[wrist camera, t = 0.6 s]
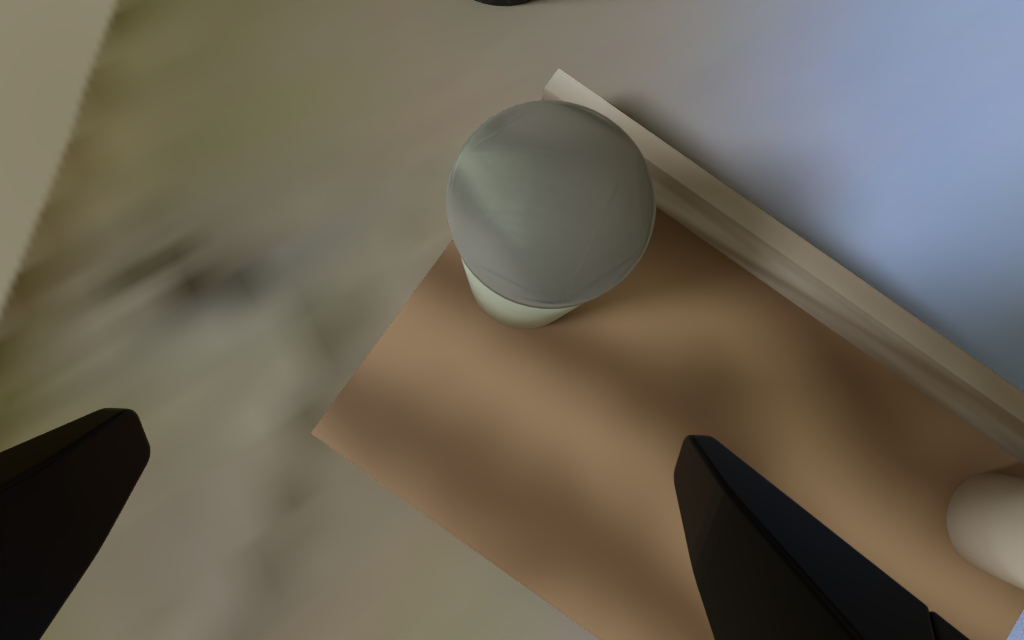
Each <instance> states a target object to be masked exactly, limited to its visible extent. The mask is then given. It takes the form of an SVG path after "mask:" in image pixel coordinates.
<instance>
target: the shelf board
mask: <svg viewBox="0 0 1024 640" xmlns="http://www.w3.org/2000/svg"><path fill="white" fill-rule="evenodd" d="M542 100H558V101H565V102H571V103H575V104H579V105H582V106H585V107H588V108H590V109H593V110H595V111H597V112H599V113H601V114H602V115H604V116H606V117H608V118H609V119H610V120H612V121H613V122H614V123H616V124H617V125H619V126H620V127H621V128H622V129H623V130H624V131H625V132H626V133H627V134H628V135H629V136H630V137H631V139H632V140H633V141H634V142H635V144H636V145H637V146H638V148H639V150H640V151H641V153H642V154H643V156H644V158H645V160H646V162H647V165H648V167H649V169H650V172H651V175H652V179H653V182H654V188H655V194H656V215H655V223H654V228H653V232H652V236H651V238H650V241H649V244H648V246H647V248H646V250H645V252H644V254H643V256H642V258H641V259H640V261H639V262H638V263H637V265H636V266H635V268H634V269H633V270H632V271H631V272H630V273H629V274H628V275H627V276H626V277H625V278H624V280H622V281H621V282H620V283H619V284H617V285H616V286H615V287H614V288H612V289H611V290H609V291H607V292H605V293H604V294H602V295H600V296H599V297H597V298H595V299H593V300H591V301H588V302H586V303H583V304H582V305H580V306H578V307H577V308H575V309H573V310H572V311H570V312H568V313H567V314H565V315H563V316H562V317H560V318H558V319H557V320H555V321H553V322H552V323H550V324H547V325H545V326H542V327H539V328H534V329H516V328H511V327H508V326H505V325H503V324H500V323H498V322H497V321H495V320H493V319H492V318H491V317H489V316H488V315H487V314H486V313H485V312H484V311H483V310H482V309H481V307H480V306H479V305H478V303H477V302H476V300H475V298H474V296H473V293H472V291H471V288H470V285H469V281H468V278H467V275H466V272H465V269H464V266H463V262H462V259H461V256H460V254H459V253H458V250H457V248H456V245H455V243H454V241H453V240H452V241H451V242H450V244H449V245H448V247H447V248H446V249H445V251H444V252H443V253H442V255H441V256H440V257H439V259H438V260H437V262H436V263H435V264H434V266H433V267H432V268H431V270H430V271H429V272H428V274H427V275H426V277H425V278H424V279H423V281H422V282H421V283H420V285H419V286H418V287H417V289H416V290H415V292H414V293H413V294H412V296H411V297H410V298H409V300H408V301H407V302H406V304H405V305H404V307H403V308H402V309H401V311H400V312H399V313H398V315H397V316H396V317H395V319H394V320H393V322H392V323H391V324H390V326H389V327H388V328H387V330H386V331H385V332H384V334H383V335H382V337H381V338H380V339H379V341H378V342H377V343H376V345H375V346H374V347H373V349H372V350H371V352H370V353H369V354H368V356H367V357H366V358H365V360H364V361H363V362H362V364H361V365H360V367H359V368H358V369H357V371H356V372H355V373H354V375H353V376H352V377H351V379H350V380H349V382H348V383H347V384H346V386H345V387H344V388H343V390H342V391H341V392H340V394H339V395H338V397H337V398H336V399H335V401H334V402H333V403H332V405H331V406H330V407H329V409H328V410H327V412H326V413H325V414H324V416H323V417H322V418H321V420H320V421H319V422H318V424H317V425H316V427H315V428H314V429H313V431H312V432H311V434H313V435H314V436H315V437H317V438H318V439H320V440H321V441H322V442H324V443H325V444H327V445H328V446H329V447H331V448H332V449H334V450H335V451H336V452H338V453H339V454H341V455H342V456H343V457H345V458H346V459H348V460H349V461H350V462H352V463H353V464H355V465H356V466H357V467H359V468H360V469H362V470H363V471H364V472H366V473H367V474H369V475H370V476H371V477H373V478H374V479H376V480H377V481H378V482H380V483H381V484H383V485H384V486H385V487H387V488H388V489H390V490H391V491H392V492H394V493H395V494H397V495H398V496H399V497H401V498H402V499H404V500H405V501H406V502H408V503H409V504H411V505H412V506H413V507H415V508H416V509H418V510H419V511H420V512H422V513H423V514H425V515H426V516H427V517H429V518H430V519H432V520H433V521H434V522H436V523H437V524H439V525H440V526H441V527H443V528H444V529H446V530H447V531H448V532H450V533H451V534H453V535H454V536H455V537H457V538H458V539H460V540H461V541H462V542H464V543H465V544H467V545H468V546H469V547H471V548H472V549H474V550H475V551H476V552H478V553H479V554H481V555H482V556H483V557H485V558H486V559H488V560H489V561H490V562H492V563H493V564H495V565H496V566H497V567H499V568H500V569H502V570H503V571H504V572H506V573H507V574H509V575H510V576H511V577H513V578H514V579H516V580H517V581H518V582H520V583H521V584H523V585H524V586H525V587H527V588H528V589H530V590H531V591H532V592H534V593H535V594H537V595H538V596H539V597H541V598H542V599H544V600H545V601H546V602H548V603H549V604H551V605H552V606H553V607H555V608H556V609H558V610H559V611H560V612H562V613H563V614H565V615H566V616H567V617H569V618H570V619H572V620H573V621H574V622H576V623H577V624H579V625H580V626H581V627H583V628H584V629H585V630H587V631H588V632H590V633H591V634H592V635H594V636H595V637H597V638H598V639H599V640H715V639H714V636H713V633H712V630H711V627H710V624H709V621H708V618H707V615H706V612H705V609H704V606H703V603H702V600H701V596H700V593H699V590H698V587H697V584H696V580H695V577H694V574H693V570H692V566H691V561H690V557H689V552H688V548H687V543H686V538H685V533H684V529H683V524H682V519H681V514H680V510H679V505H678V500H677V496H676V491H675V486H674V469H675V466H676V462H677V459H678V456H679V452H680V449H681V446H682V442H683V440H684V438H685V437H686V436H687V435H709V436H712V437H714V438H715V439H717V440H718V441H719V442H720V443H722V444H723V445H724V446H725V447H727V448H728V449H729V450H730V451H732V452H733V453H734V454H736V455H737V456H738V457H739V458H741V459H742V460H743V461H744V462H746V463H747V464H748V465H749V466H751V467H752V468H753V469H755V470H756V471H757V472H758V473H760V474H761V475H762V476H763V477H765V478H766V479H767V480H768V481H770V482H771V483H772V484H774V485H775V486H776V487H777V488H779V489H780V490H781V491H782V492H784V493H785V494H786V495H787V496H789V497H790V498H791V499H793V500H794V501H795V502H796V503H798V504H799V505H800V506H801V507H803V508H804V509H805V510H806V511H808V512H809V513H810V514H811V515H813V516H814V517H815V518H817V519H818V520H819V521H820V522H822V523H823V524H824V525H825V526H827V527H828V528H829V529H830V530H832V531H833V532H834V533H836V534H837V535H838V536H839V537H841V538H842V539H843V540H844V541H846V542H847V543H848V544H849V545H851V546H852V547H853V548H855V549H856V550H857V551H858V552H860V553H861V554H862V555H863V556H865V557H866V558H867V559H868V560H870V561H871V562H872V563H874V564H875V565H876V566H877V567H879V568H880V569H881V570H882V571H884V572H885V573H886V574H887V575H889V576H890V577H891V578H893V579H894V580H895V581H896V582H898V583H899V584H900V585H901V586H903V587H904V588H905V589H906V590H908V591H909V592H910V593H912V594H913V595H914V596H915V597H917V598H918V599H919V600H920V601H922V602H923V603H924V604H925V605H927V607H928V609H929V611H934V612H936V613H937V614H938V615H940V616H941V617H942V618H943V619H945V620H946V621H947V622H948V623H950V624H951V625H952V626H954V627H955V628H956V629H957V630H959V631H960V632H961V633H962V634H964V635H965V636H966V637H968V638H969V639H970V640H1006V639H1007V638H1008V636H1009V634H1010V632H1011V631H1012V629H1013V627H1014V625H1015V623H1016V622H1017V620H1018V618H1019V616H1020V615H1021V613H1022V611H1023V609H1024V590H1023V589H1021V588H1019V587H1016V586H1014V585H1012V584H1009V583H1007V582H1005V581H1003V580H1000V579H998V578H996V577H993V576H991V575H989V574H987V573H984V572H982V571H980V570H978V569H975V568H974V567H972V566H970V565H969V564H968V563H967V562H965V561H964V560H963V559H962V558H961V557H960V556H959V554H958V553H957V552H956V550H955V548H954V547H953V545H952V543H951V540H950V538H949V534H948V530H947V520H946V518H947V510H948V505H949V503H950V500H951V498H952V496H953V494H954V492H955V491H956V490H957V488H958V487H959V486H960V485H961V484H962V483H963V482H965V481H966V480H967V479H969V478H971V477H973V476H975V475H978V474H982V473H988V472H990V473H1001V474H1005V475H1009V476H1014V477H1018V478H1023V479H1024V392H1022V391H1021V390H1019V389H1018V388H1016V387H1015V386H1013V385H1012V384H1011V383H1009V382H1008V381H1006V380H1005V379H1003V378H1002V377H1001V376H999V375H998V374H996V373H995V372H993V371H992V370H991V369H989V368H988V367H986V366H985V365H983V364H982V363H981V362H979V361H978V360H976V359H975V358H973V357H972V356H970V355H969V354H968V353H966V352H965V351H963V350H962V349H960V348H959V347H958V346H956V345H955V344H953V343H952V342H950V341H949V340H948V339H946V338H945V337H943V336H942V335H940V334H939V333H938V332H936V331H935V330H933V329H932V328H930V327H929V326H927V325H926V324H925V323H923V322H922V321H920V320H919V319H917V318H916V317H915V316H913V315H912V314H910V313H909V312H907V311H906V310H905V309H903V308H902V307H900V306H899V305H897V304H896V303H894V302H893V301H892V300H890V299H889V298H887V297H886V296H884V295H883V294H882V293H880V292H879V291H877V290H876V289H874V288H873V287H872V286H870V285H869V284H867V283H866V282H864V281H863V280H862V279H860V278H859V277H857V276H856V275H854V274H853V273H851V272H850V271H849V270H847V269H846V268H844V267H843V266H841V265H840V264H839V263H837V262H836V261H834V260H833V259H831V258H830V257H829V256H827V255H826V254H824V253H823V252H821V251H820V250H819V249H817V248H816V247H814V246H813V245H811V244H810V243H808V242H807V241H806V240H804V239H803V238H801V237H800V236H798V235H797V234H796V233H794V232H793V231H791V230H790V229H788V228H787V227H786V226H784V225H783V224H781V223H780V222H778V221H777V220H776V219H774V218H773V217H771V216H770V215H768V214H767V213H765V212H764V211H763V210H761V209H760V208H758V207H757V206H755V205H754V204H753V203H751V202H750V201H748V200H747V199H745V198H744V197H743V196H741V195H740V194H738V193H737V192H735V191H734V190H733V189H731V188H730V187H728V186H727V185H725V184H724V183H722V182H721V181H720V180H718V179H717V178H715V177H714V176H712V175H711V174H710V173H708V172H707V171H705V170H704V169H702V168H701V167H700V166H698V165H697V164H695V163H694V162H692V161H691V160H690V159H688V158H687V157H685V156H684V155H682V154H681V153H679V152H678V151H677V150H675V149H674V148H672V147H671V146H669V145H668V144H667V143H665V142H664V141H662V140H661V139H659V138H658V137H657V136H655V135H654V134H652V133H651V132H649V131H648V130H646V129H645V128H644V127H642V126H641V125H639V124H638V123H636V122H635V121H634V120H632V119H631V118H629V117H628V116H626V115H625V114H624V113H622V112H621V111H619V110H618V109H616V108H615V107H614V106H612V105H611V104H609V103H608V102H606V101H605V100H603V99H602V98H601V97H599V96H598V95H596V94H595V93H593V92H592V91H591V90H589V89H588V88H586V87H585V86H583V85H582V84H581V83H579V82H578V81H576V80H575V79H573V78H572V77H571V76H569V75H568V74H566V73H565V72H563V71H562V70H560V69H558V70H557V71H556V73H555V74H554V75H553V77H552V78H551V79H550V81H549V82H548V83H547V85H546V86H545V87H544V92H543V98H542Z"/></svg>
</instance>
